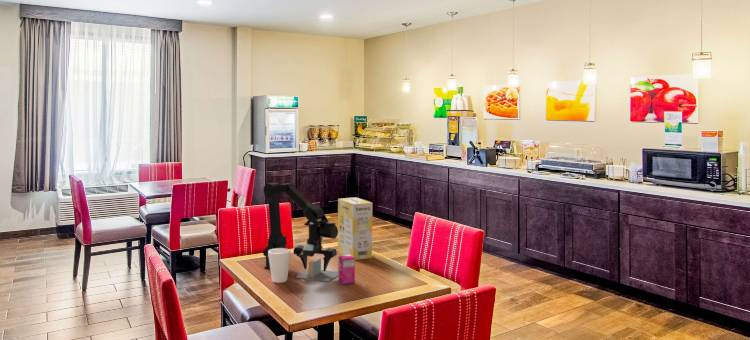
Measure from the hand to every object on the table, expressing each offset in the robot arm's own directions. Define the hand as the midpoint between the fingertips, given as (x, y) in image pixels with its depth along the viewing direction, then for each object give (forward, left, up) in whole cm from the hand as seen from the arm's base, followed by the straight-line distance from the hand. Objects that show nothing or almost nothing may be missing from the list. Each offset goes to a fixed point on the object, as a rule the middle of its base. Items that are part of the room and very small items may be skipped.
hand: (315, 270), depth 239 cm
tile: (0, 0, -2) cm, 2 cm away
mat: (+2, 0, -2) cm, 3 cm away
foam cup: (-11, -12, -2) cm, 17 cm away
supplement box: (+17, -5, -2) cm, 18 cm away
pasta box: (+4, +39, -2) cm, 39 cm away
